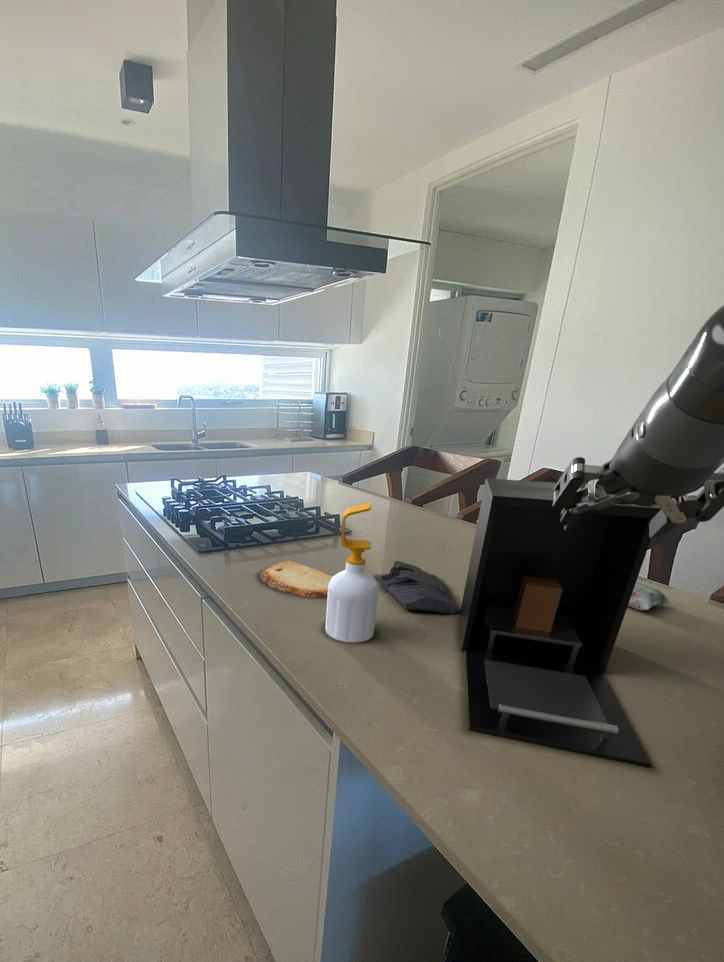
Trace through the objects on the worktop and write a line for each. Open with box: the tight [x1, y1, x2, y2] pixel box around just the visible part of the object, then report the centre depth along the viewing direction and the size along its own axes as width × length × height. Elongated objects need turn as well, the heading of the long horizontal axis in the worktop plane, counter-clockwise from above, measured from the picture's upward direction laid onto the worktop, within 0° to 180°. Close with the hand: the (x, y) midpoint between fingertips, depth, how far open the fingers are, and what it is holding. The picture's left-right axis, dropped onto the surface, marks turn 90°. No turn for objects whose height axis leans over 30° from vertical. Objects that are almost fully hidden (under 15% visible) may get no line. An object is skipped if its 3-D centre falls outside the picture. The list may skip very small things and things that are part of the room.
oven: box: [459, 477, 661, 769], centre depth 74 cm, size 22×38×28 cm, turn 162°
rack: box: [483, 605, 582, 664], centre depth 87 cm, size 14×11×4 cm
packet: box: [513, 576, 563, 632], centre depth 84 cm, size 6×4×8 cm
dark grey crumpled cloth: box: [375, 560, 461, 615], centre depth 108 cm, size 15×22×5 cm
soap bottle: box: [325, 502, 380, 644], centre depth 87 cm, size 9×9×25 cm
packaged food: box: [627, 581, 671, 611], centre depth 105 cm, size 9×12×5 cm
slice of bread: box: [259, 560, 333, 598], centre depth 113 cm, size 18×18×4 cm
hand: (608, 527), depth 55 cm, fingers open, 8 cm apart
